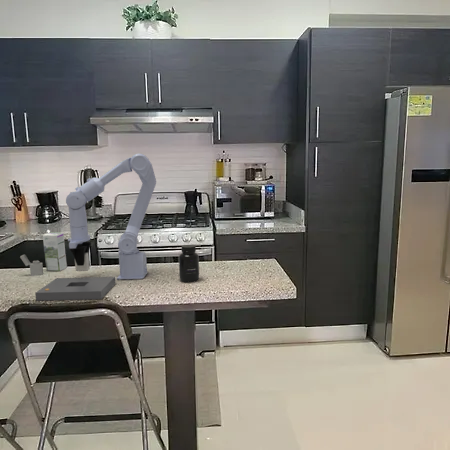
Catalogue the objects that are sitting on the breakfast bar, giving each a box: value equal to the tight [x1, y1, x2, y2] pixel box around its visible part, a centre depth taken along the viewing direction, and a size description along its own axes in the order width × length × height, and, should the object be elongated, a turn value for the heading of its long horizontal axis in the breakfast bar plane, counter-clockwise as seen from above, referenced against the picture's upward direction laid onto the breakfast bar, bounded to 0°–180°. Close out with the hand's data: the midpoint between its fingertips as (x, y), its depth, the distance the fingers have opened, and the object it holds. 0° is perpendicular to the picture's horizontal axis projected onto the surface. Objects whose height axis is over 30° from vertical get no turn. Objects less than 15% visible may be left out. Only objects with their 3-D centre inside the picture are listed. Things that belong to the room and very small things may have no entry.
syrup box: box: [42, 231, 68, 272], centre depth 153 cm, size 6×6×14 cm
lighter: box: [19, 254, 44, 277], centre depth 147 cm, size 7×2×8 cm, turn 101°
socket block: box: [35, 276, 117, 302], centre depth 126 cm, size 20×15×3 cm
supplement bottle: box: [178, 244, 200, 283], centre depth 135 cm, size 7×7×12 cm
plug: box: [74, 253, 91, 272], centre depth 138 cm, size 4×3×7 cm, turn 89°
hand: (82, 264), depth 139 cm, fingers closed on plug, 3 cm apart
